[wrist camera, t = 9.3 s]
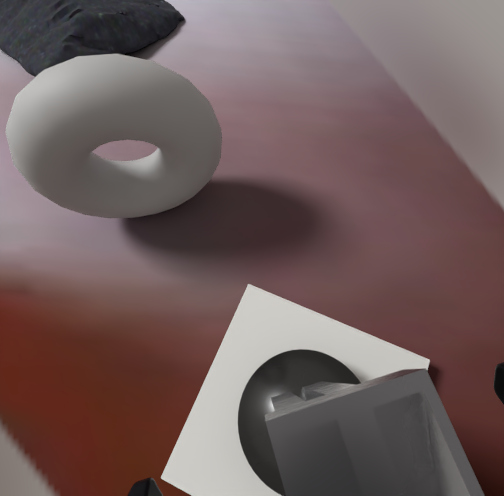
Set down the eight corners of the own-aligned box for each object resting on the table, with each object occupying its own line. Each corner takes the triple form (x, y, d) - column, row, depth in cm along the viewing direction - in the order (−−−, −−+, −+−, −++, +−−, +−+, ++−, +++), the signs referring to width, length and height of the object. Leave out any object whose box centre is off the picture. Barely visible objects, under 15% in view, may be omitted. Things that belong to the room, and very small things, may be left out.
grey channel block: (337, 336, 17) (470, 264, 6) (386, 466, 15) (723, 712, 4) (225, 371, 17) (151, 363, 6) (261, 510, 15) (252, 923, 4)
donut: (223, 160, 23) (196, 9, 13) (236, 203, 22) (216, 70, 12) (76, 196, 22) (-60, 65, 13) (81, 243, 21) (-66, 136, 12)
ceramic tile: (365, 582, 15) (372, 595, 14) (166, 472, 16) (160, 478, 15) (421, 360, 18) (429, 359, 17) (249, 288, 19) (248, 283, 19)
